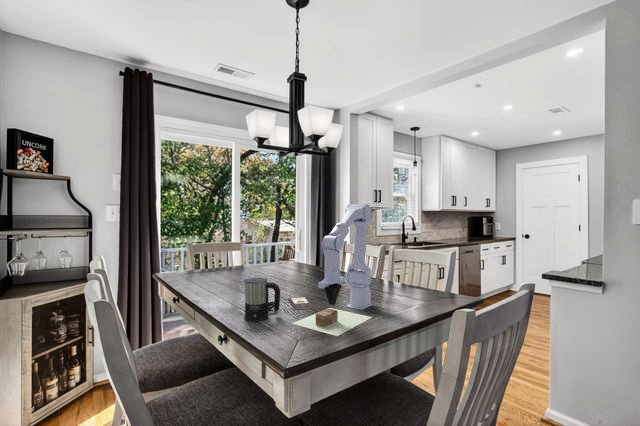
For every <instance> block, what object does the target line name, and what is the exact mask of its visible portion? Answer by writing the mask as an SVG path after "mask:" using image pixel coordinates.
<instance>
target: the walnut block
mask: <svg viewBox="0 0 640 426" xmlns="http://www.w3.org/2000/svg"><path fill="white" fill-rule="evenodd" d="M333 309H334V308H333ZM333 309H328V308H326V309H325V310H324V311H323V310H321V311H319V313H318V312H316V313H317V314H316V313H315V314H316V325H318V326H321V327H327V326H329V325H331V324H333V323H335V322H337V321H338V310H339V309H337V310H333Z"/></svg>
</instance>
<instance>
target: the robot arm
mask: <svg viewBox="0 0 640 426" xmlns="http://www.w3.org/2000/svg"><path fill="white" fill-rule="evenodd" d="M371 221H372V208H371V205H370V204H369V203H366V204H364V203H363V204H360V203H359V204H358V203H357V204H350V203H349V204H347V205H346V206H345V209H344V216H343V218H342V220H341V222H337V223H336V224H335V226H334V227H333V228H332V230H331V231H330V232H329V234H328V235H325V236H324V237H323V238H322V240H321V248H322V252H323V253H322V254H323V256H324V279H322V280H321V281H319V282H318V286H317V287H318V289H323V290H324V292H325V294H326V298H327V301H328V305H330V306H331V305H332V306H335V305H336V304H337V299H338V296H339V293H340V290H341V288H342V283H345V282H346V283H347V284H348V286H349V288H350V289H349V304H346V305H345V306H346V307H347V308H350V309H351V308H353V309H356V310H361V311H362V310H365V309H367V308H369V307H371V306H373V303H372V302H371V300H372V299H371V298H372V297H371V296H372V295H371V294H372V293H371V288H370V284H371V283H372V272H371V271H372V270H371V267H370V266H369V265H368V264H366V252H367V250H366V249H367V241H368V240H367V239H368V238H367V237H368V236H367V235H368V225H371ZM351 225H354V226H355V235H354V237H355V238H354V247H353V249H354V250H353V260H352V261H353V262H352V263H351V264H349V265H347V270H346V271H347V272H346V274H345V276H341V251H342V250H343V247H344V243H345V239H346V237H347V236H348V234H349V232H350V229H349V228H350V226H351Z"/></svg>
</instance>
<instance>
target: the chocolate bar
mask: <svg viewBox="0 0 640 426" xmlns="http://www.w3.org/2000/svg"><path fill="white" fill-rule="evenodd" d="M288 301H289V304H290V306H291V307H292V309H293V310H294V311H302V310H303V311H304V310H312V309H313V310H316V309H317V307H316V306H315V305H314V303H312V301H311V300H310V299H309V297H307V296H306V297H305V296H304V297H289V298H288Z"/></svg>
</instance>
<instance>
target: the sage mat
mask: <svg viewBox="0 0 640 426" xmlns="http://www.w3.org/2000/svg"><path fill="white" fill-rule="evenodd" d="M327 309H333V310H338V321H337V322H335V323H333V324H331V325H329V326H327V327H321V326H318V325H316V314H317V313H319V312H320V311H319V312H316V313H314V314H311V315H309V316H307V317H303V318H301V319H299V320H296V321H294V322H292V323H291V324H292V325H295V326H299V327H302V328H305V329H310V330H313V331H317V332H321V333H325V334H327V335H331V336H336V337H338V336H340V335H342V334H344V333H347V332H348V331H350V330H352V329H354V328H355V327H357V326H359V325H361V324H363V323H365V322H366V321H368V320H370V319H372V318H373V317H372V316H369V315H364V314H359V313H355V312H350V311H345V310H341V309H337V308H332V307H328V308H327ZM322 311H324V310H322Z"/></svg>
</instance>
